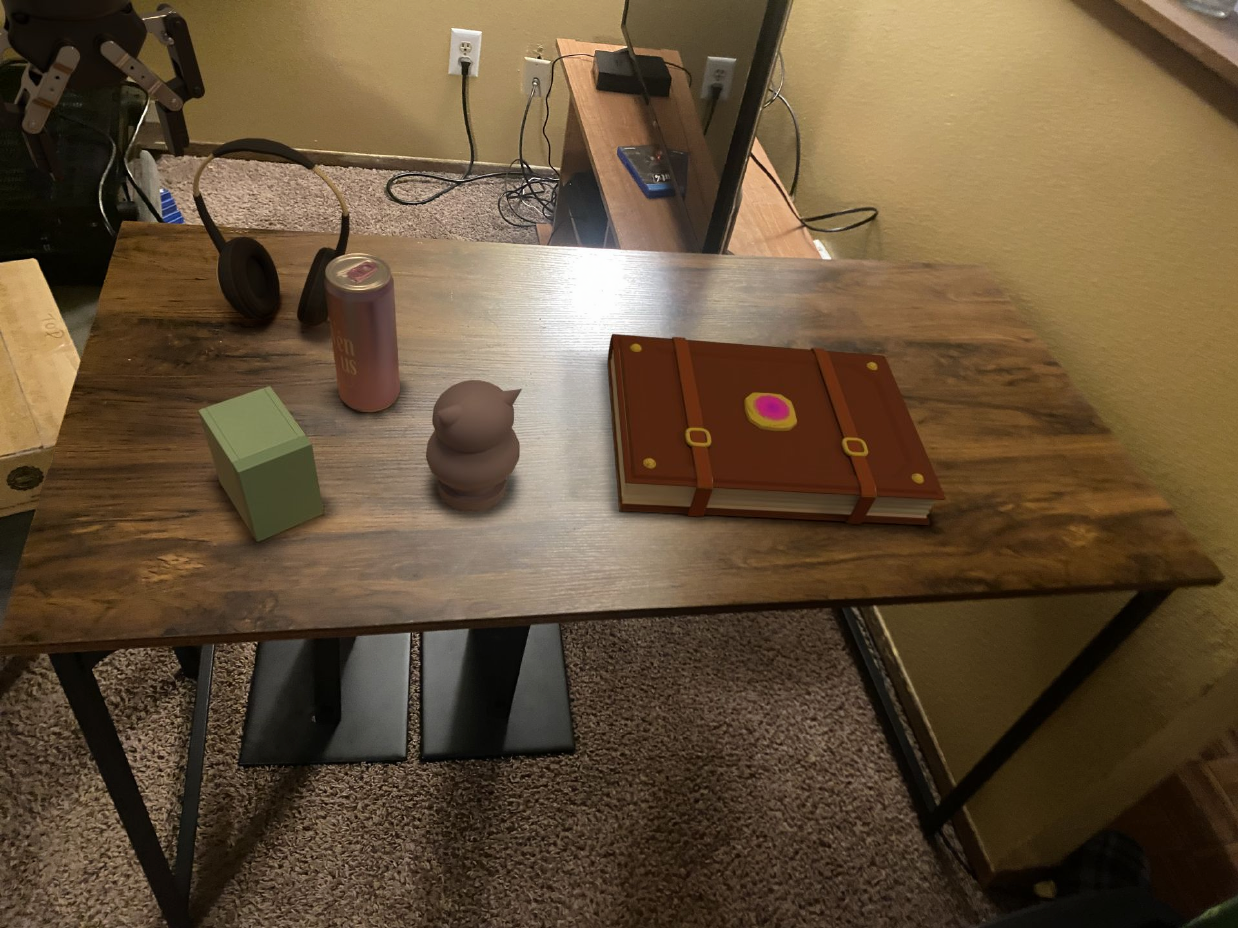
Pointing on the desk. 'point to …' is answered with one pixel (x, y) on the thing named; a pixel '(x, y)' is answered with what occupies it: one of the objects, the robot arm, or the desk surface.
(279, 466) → the green open-top box
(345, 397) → the beverage can
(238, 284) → the headphones
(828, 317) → the desk surface
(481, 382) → the cat figurine
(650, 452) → the book
